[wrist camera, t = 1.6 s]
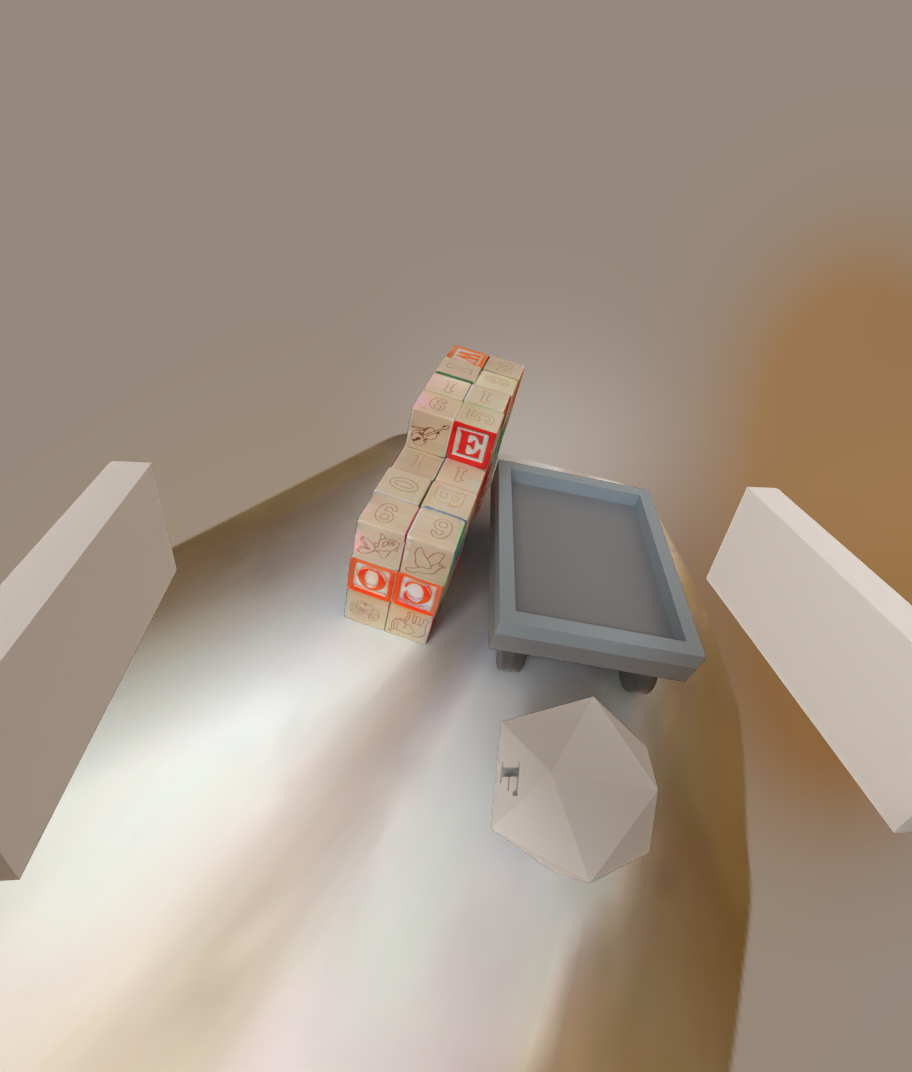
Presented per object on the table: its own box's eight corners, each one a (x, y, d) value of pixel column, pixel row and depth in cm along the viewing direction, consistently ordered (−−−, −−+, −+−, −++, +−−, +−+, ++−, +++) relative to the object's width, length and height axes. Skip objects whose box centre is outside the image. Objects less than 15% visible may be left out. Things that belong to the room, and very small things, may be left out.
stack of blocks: (427, 649, 38) (465, 513, 30) (341, 619, 38) (356, 477, 30) (490, 480, 54) (526, 363, 46) (429, 461, 54) (455, 341, 46)
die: (524, 718, 36) (472, 678, 28) (665, 727, 33) (650, 684, 25) (513, 863, 32) (450, 861, 25) (671, 890, 29) (656, 898, 21)
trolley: (475, 679, 37) (499, 621, 33) (481, 516, 49) (498, 459, 45) (660, 710, 38) (706, 657, 34) (619, 543, 51) (648, 490, 47)
